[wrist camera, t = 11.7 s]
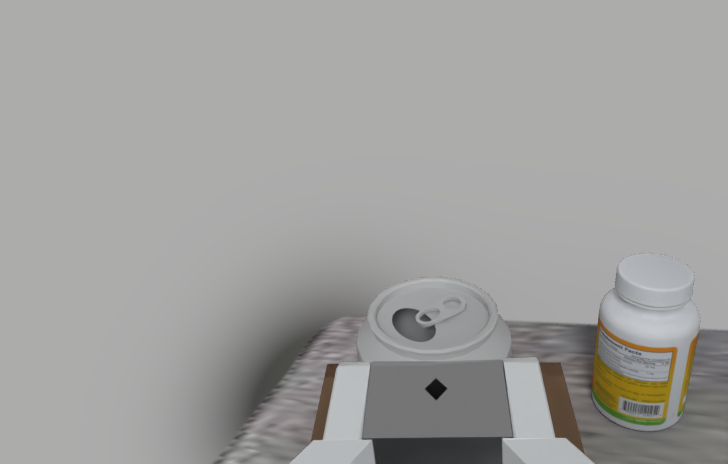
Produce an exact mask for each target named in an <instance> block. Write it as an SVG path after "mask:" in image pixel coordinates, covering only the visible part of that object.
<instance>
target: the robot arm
mask: <svg viewBox="0 0 728 464" xmlns="http://www.w3.org/2000/svg"><path fill="white" fill-rule="evenodd" d="M289 464H595V463H594V462H593V461H591V460H590V459H589V458H588V457H587V456H586V455H585V454H584V453H582V452H581V451H580V450H579V449H578V448H577V447H576V446H575V445H573V444H572V443H571V442H570V441H569V440H568V439H567V438H556V437H555V433H554V428H553V424H552V419H551V415H550V410H549V405H548V401H547V396H546V392H545V387H544V383H543V378H542V373H541V369H540V364H539V361H538V360H537V358H536V357H525V358H503V359H502V360H501V359H498V360H465V361H373V362H340V363H339V365H338V367H337V368H336V373H335V378H334V383H333V389H332V394H331V399H330V404H329V409H328V415H327V420H326V425H325V430H324V435H323V440H313V441H312V442H311V443H310V444H309V445H308V446H307V447H305V448H304V449H303V450H302V451H301V452H300V453H299V454H298V455H297V456H296V457H295V458H294V459H293V460H292V461H291V462H290V463H289Z"/></svg>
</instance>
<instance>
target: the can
mask: <svg viewBox="0 0 728 464" xmlns="http://www.w3.org/2000/svg"><path fill="white" fill-rule="evenodd" d="M511 345H512V342H511V336H510V331H509V327H508V326H507V324H506V323H505V322H504V320H503V319H502V318H501V316H500V315H499V314H498V310H497V305H496V303H495V302H494V301H493V299H492V298H491V297H490V295H489V294H488V293H486V292H485V291H483V290H482V289H480V288H479V287H477V286H476V285H473V284H470V283H467V282H465V281H462V280H459V279H453V278H446V277H421V278H416V279H411V280H406V281H403V282H400V283H398V284H395V285H393V286H390V287H389V288H387V289H386V290H385V291H383V292H382V293H380V294H379V295H378V296H376V297H375V299H374V301H373V302H372V303H371V305H370V306H369V309H368V316H367V319H366V320H365V322H364V323H363V325H362V326H361V328H360V329H359V333H358V339H357V352H358V361H359V362H373V361H465V360H498V359H501V360H502V359H503V358H511Z"/></svg>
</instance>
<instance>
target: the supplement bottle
mask: <svg viewBox="0 0 728 464" xmlns="http://www.w3.org/2000/svg"><path fill="white" fill-rule="evenodd" d="M693 285H694V272H693V271H692V269H691V268H690V267H689V266H688V265H687V264H686V263H684V262H682V261H681V260H679V259H676V258H673V257H670V256H667V255H662V254H654V253H642V254H635V255H631V256H628V257H626V258H624V259H623V260H622V261H621V262H620V263H619V264H618V267H617V273H616V281H615V288H613V289H612V290H610V291H609V292H608V293H607V294H606V295H605V296H604V298H603V299H602V302H601V304H600V310H599V318H598V328H597V338H596V349H595V358H594V369H593V379H592V398H593V401H594V403H595V405H596V407H597V408H598V409H599V411H600V412H601V413H602V414H603V415H604V416H606V417H607V418H608V419H610V420H611V421H613V422H615V423H617V424H619V425H621V426H624V427H627V428H630V429H634V430H639V431H658V430H662V429H666V428H668V427H670V426H672V425H673V424H675V423H676V422H677V421H678V420H679V419H680V417H681V416H682V414H683V411H684V407H685V402H686V397H687V391H688V386H689V380H690V375H691V370H692V364H693V359H694V354H695V349H696V344H697V339H698V335H699V328H700V314H699V312H698V309H697V307H696V306H695V304H694V303H693V302H692V301H691V300H690V299H691V296H692V293H693Z"/></svg>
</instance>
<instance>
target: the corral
mask: <svg viewBox="0 0 728 464" xmlns="http://www.w3.org/2000/svg"><path fill="white" fill-rule="evenodd" d="M539 364H540V369H541V373H542V378H543V383H544V387H545V392H546V396H547V401H548V405H549V410H550V415H551V419H552V424H553V428H554V433H555V437H556V438H567V439H568V440H569V441H570V442H571V443H572V444H573V445H575V446H576V447H577V448H578V449H579V450H580V451H581V452H582V453H584V450H583V446H582V443H581V439H580V435H579V431H578V427H577V424H576V420H575V416H574V412H573V409H572V405H571V401H570V397H569V393H568V390H567V386H566V382H565V378H564V375H563V371H562V367H561V363H539ZM338 365H339V364H327V368H326V373H325V378H324V382H323V387H322V392H321V396H320V401H319V406H318V411H317V415H316V420H315V425H314V430H313V434H312V439H311V442H312V441H313V440H323V435H324V430H325V425H326V420H327V415H328V409H329V404H330V399H331V394H332V389H333V383H334V378H335V373H336V368H337V367H338Z"/></svg>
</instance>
